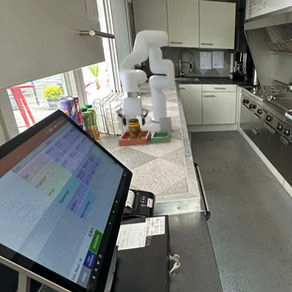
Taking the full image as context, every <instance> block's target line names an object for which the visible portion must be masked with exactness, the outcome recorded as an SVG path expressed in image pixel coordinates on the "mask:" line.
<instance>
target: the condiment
mask: <svg viewBox="0 0 292 292" xmlns="http://www.w3.org/2000/svg"><path fill="white" fill-rule="evenodd" d="M127 121H128V131H129V132H130V138H129V139H144V138H143V137H141V136H142V135H141V130H142V129H141V123H140V122H139V119H138V118H129V119H128V120H127Z"/></svg>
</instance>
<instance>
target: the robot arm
mask: <svg viewBox="0 0 292 292" xmlns="http://www.w3.org/2000/svg"><path fill="white" fill-rule="evenodd" d="M168 42H169V36H168V33H167V32H166V31H164V30H152V29H151V30H150V29H145V30H141V31H139V32H137V33H136V36H135V39H134V45H133V49H132V52H131V53H130V54H128V55H127V56H126V57H125V58H124V59H123V60H122V61H121V64H120V67H119V70H118V78H119V81H120V82H121V86H122V95H123V96H122V99H121V108H118V109H116V110H115V113H116V114H117V116H118V117H119V118H120V119H121V120H122V124H123V126H124V127H126V126H127V118H126V117H134V116H135V117H139V116H140V117H141V126H142V127H144V126H145V124H146V118H147V117H148V115H149V113H150V110H149V109H147V108H145V107H143V103H142V98H141V96H142V92H140V91H139V88H138V85H143V84H145V83H146V82H147V79H148V75H147V73H146V72H145V71H144V70H141V69H131V68H132V67H134V66H135V65H138V64H141V63H144V62H145V61H147V60H148V62H149V69H150V72H151V73H152V74H157V75H152V76H150V77H149V79H148V84H149V89H150V94H151V104H152V116H153V117H151V119H150V121H152V122H154V123H160V118H163V117H168V113H167V97H166V94H165V92H164V91H173V90H175V88H176V76H175V75H176V74H175V64H174V62H173V60H171V59H163V52H162V49H161V48H163V47H166V46H167V45H168ZM159 74H161V75H159ZM121 112H122V113H121ZM144 112H145V114H144Z"/></svg>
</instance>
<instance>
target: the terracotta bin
mask: <svg viewBox="0 0 292 292" xmlns="http://www.w3.org/2000/svg"><path fill="white" fill-rule="evenodd" d="M151 133H152V132H151V130H150V129H149V130H148V129H147V130H146V129H145V130H142V129H141V137H143V138H144V139H129V138H130V132H129V130H124V132H123V133H122V134H121V136H119V138H118V145H119V146H143V145H148V143H149V140H150V139H151V136H152V134H151Z"/></svg>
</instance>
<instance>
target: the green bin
mask: <svg viewBox="0 0 292 292" xmlns="http://www.w3.org/2000/svg"><path fill="white" fill-rule="evenodd" d="M170 135H171V134H170V132H161V131H153V132H152V134H151V136H150V141H151V144H164V143H165V144H167V143H169V141H170Z"/></svg>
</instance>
